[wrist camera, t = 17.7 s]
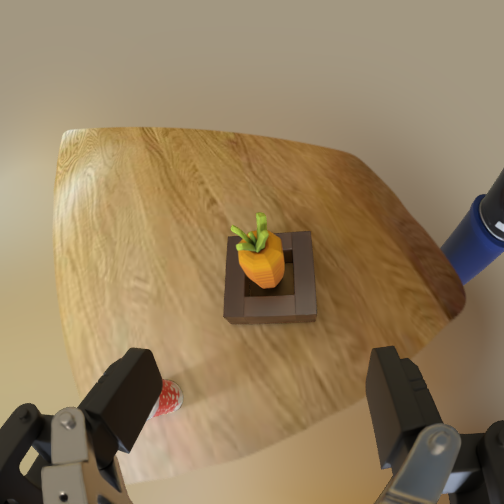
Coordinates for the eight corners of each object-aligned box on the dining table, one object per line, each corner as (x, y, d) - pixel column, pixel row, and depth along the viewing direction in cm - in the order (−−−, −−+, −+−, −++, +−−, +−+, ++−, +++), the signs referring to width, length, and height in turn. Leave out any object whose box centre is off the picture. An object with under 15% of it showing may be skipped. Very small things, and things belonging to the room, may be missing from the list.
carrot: (263, 308, 36) (239, 261, 23) (246, 278, 39) (216, 219, 25) (295, 290, 37) (291, 233, 23) (277, 261, 39) (263, 194, 26)
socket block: (310, 245, 39) (310, 230, 36) (315, 321, 34) (317, 313, 31) (234, 249, 41) (227, 236, 37) (231, 324, 36) (223, 317, 32)
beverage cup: (186, 374, 34) (128, 364, 21) (190, 417, 31) (132, 430, 18) (147, 374, 34) (81, 362, 22) (150, 415, 31) (83, 420, 19)
